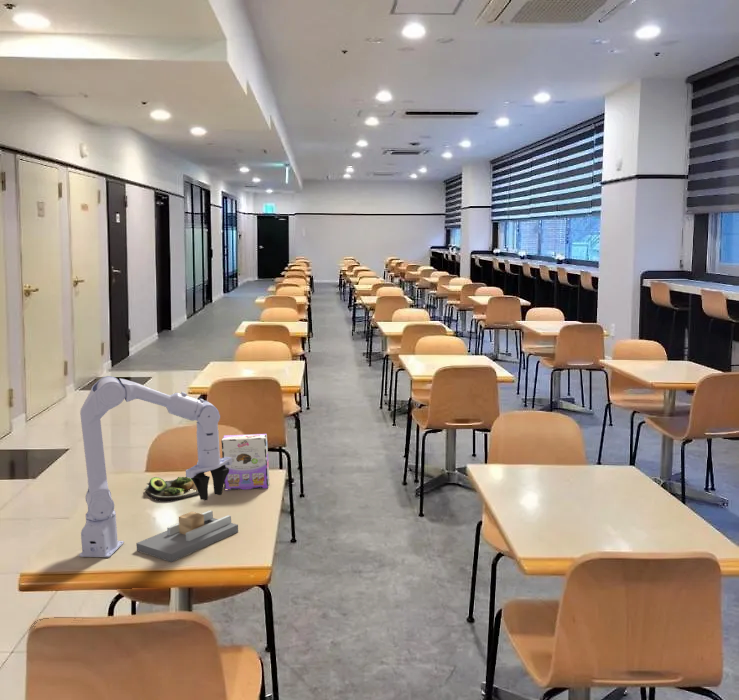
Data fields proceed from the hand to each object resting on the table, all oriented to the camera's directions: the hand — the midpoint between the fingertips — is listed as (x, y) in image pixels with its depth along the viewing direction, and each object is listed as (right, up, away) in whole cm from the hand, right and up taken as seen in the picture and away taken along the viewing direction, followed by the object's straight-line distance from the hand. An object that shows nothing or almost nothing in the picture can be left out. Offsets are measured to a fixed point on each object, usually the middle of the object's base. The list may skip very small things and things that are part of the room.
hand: (211, 497), depth 213 cm
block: (-4, -8, -5) cm, 10 cm away
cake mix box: (+4, -4, +37) cm, 38 cm away
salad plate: (-19, -5, +35) cm, 40 cm away
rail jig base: (-5, -10, -5) cm, 13 cm away
